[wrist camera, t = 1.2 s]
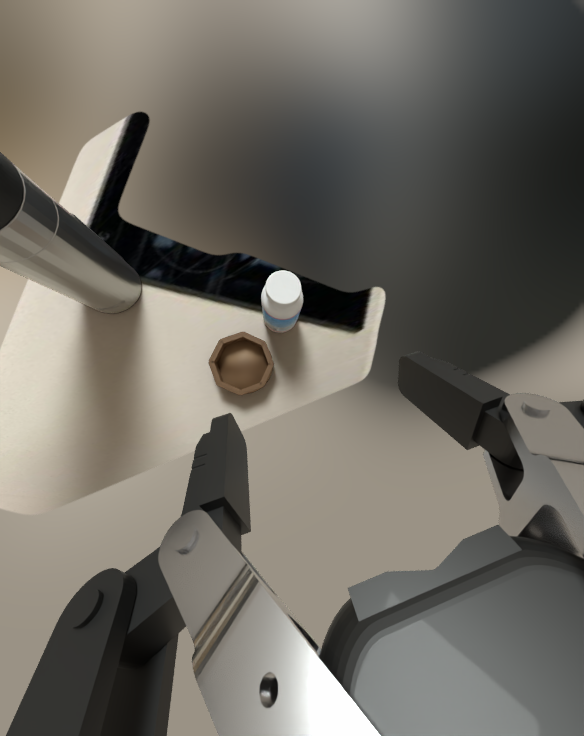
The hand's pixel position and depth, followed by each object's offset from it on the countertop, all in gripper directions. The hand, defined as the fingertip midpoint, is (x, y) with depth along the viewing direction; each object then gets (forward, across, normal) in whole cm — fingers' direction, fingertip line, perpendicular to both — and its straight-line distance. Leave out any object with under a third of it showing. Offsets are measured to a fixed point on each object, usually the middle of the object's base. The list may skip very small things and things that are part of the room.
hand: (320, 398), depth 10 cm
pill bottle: (+30, -2, +5) cm, 31 cm away
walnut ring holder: (+26, +6, +10) cm, 28 cm away
